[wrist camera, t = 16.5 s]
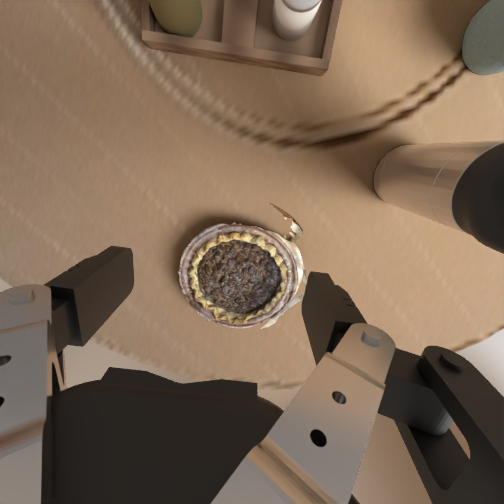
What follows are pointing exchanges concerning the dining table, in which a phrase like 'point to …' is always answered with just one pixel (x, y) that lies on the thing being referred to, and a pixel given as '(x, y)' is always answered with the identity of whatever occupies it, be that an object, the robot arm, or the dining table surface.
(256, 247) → the pie
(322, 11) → the cruet caddy
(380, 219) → the dining table surface
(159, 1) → the olive mushroom knob
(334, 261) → the dining table surface
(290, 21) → the salt shaker
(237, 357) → the dining table surface
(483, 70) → the teal cup
